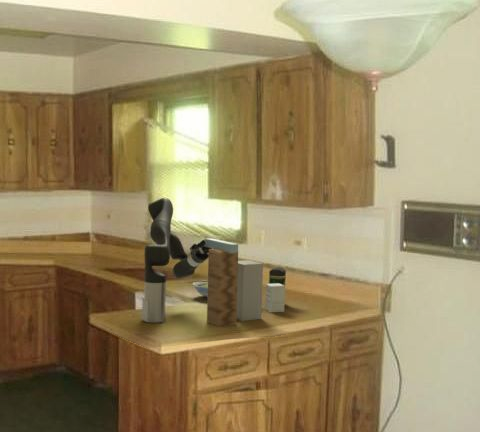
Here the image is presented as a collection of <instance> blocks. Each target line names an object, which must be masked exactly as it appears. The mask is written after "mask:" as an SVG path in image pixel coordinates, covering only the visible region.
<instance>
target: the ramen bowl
mask: <svg viewBox="0 0 480 432" xmlns="http://www.w3.org/2000/svg"><path fill="white" fill-rule="evenodd" d="M187 283H191V281H189V282H188V281H187ZM192 286H193V287H194V289H195V290H196V292H197V293H198V294H200V295H201V296H203V297H206V298H207V299H208V279H207V280H198V281H197V280H196V281H193V282H192Z"/></svg>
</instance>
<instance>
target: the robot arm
mask: <svg viewBox="0 0 480 432" xmlns="http://www.w3.org/2000/svg"><path fill="white" fill-rule="evenodd" d="M147 206H148V207H147V208H148V213H149V215H150V217H151V219H152V222H151V224H150V232H149V235H150V238H151V240H152V242H154V243H155V244H146V246H145V247H144V295H143V298H142V309H141V310H142V311H141V314H142V315H141V320H142V321H144V322H146V323H154V324H155V323H163V322H166V295H167V293H166V292H167V291H166V288H167V277H166V276H167V275H166V274H164V273H161V272H159V271H157V270H155V269H154V268H153V267H164V266H167V265H168V264H169V263H170V259H171V260H175V261H176V260H179V261H178V262H176V263H175V264H174V266H173V267H172V273H173V276H174V277H175V278H177V279H182V278H187V277H189V276H193V275H194V274H195V271H196V269H197V268H198V267H199V266H201V265H202V264H203V263H204V262H205V261H206V260H207V259H209V249H213V248H209V247H205V246H204V245H205V240H204V239H203V240H201V241H200V242H198V243H197V244H196V243H193V244H192V245H191V246H190V247H189V253H186V251H185V249H184V245H183V244H182V241H181V239H180V237H178V236H177V234H175V233H173V232H172V231H171V229H172V227H171V226H172V225H171V223H172V218H173V215H174V207H173V203H172V200H170V198H168V197H161V198H159V199H157V200H155V201H152V202H151V203H149V204H148V205H147ZM219 240H221V241H223V240H222V238H221V239H219Z"/></svg>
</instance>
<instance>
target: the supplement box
mask: <svg viewBox="0 0 480 432" xmlns="http://www.w3.org/2000/svg"><path fill="white" fill-rule="evenodd" d="M264 295H265V297H264V299H265V300H264V310H266V311H267V312H269V313H284V312H285V301H286V300H285V299H286V285H285V286H284V285H282V284H280V283H276V284H269V283H265V293H264Z"/></svg>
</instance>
